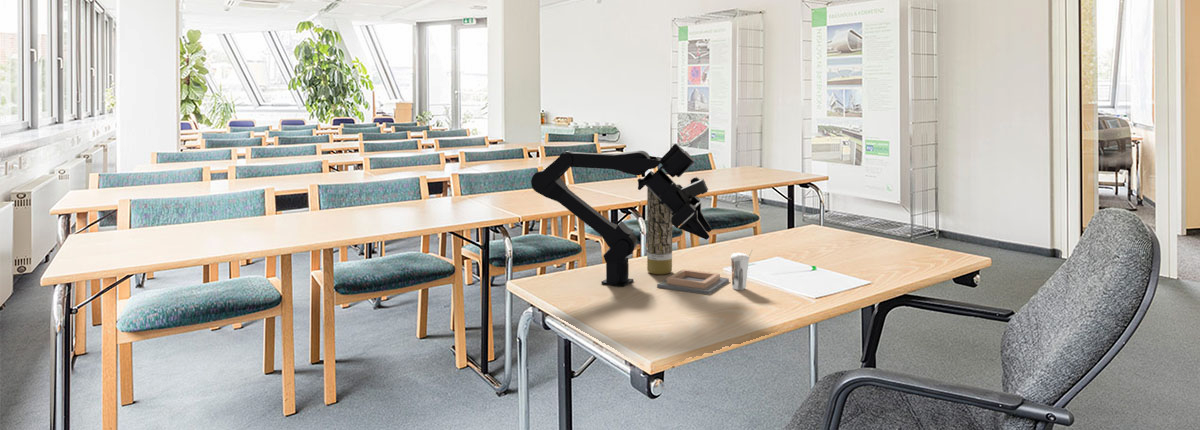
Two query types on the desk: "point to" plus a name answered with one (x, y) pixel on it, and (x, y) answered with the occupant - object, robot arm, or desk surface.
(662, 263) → the brown tall cylinder
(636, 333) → the desk surface
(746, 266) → the milkshake
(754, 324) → the desk surface
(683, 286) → the dock
